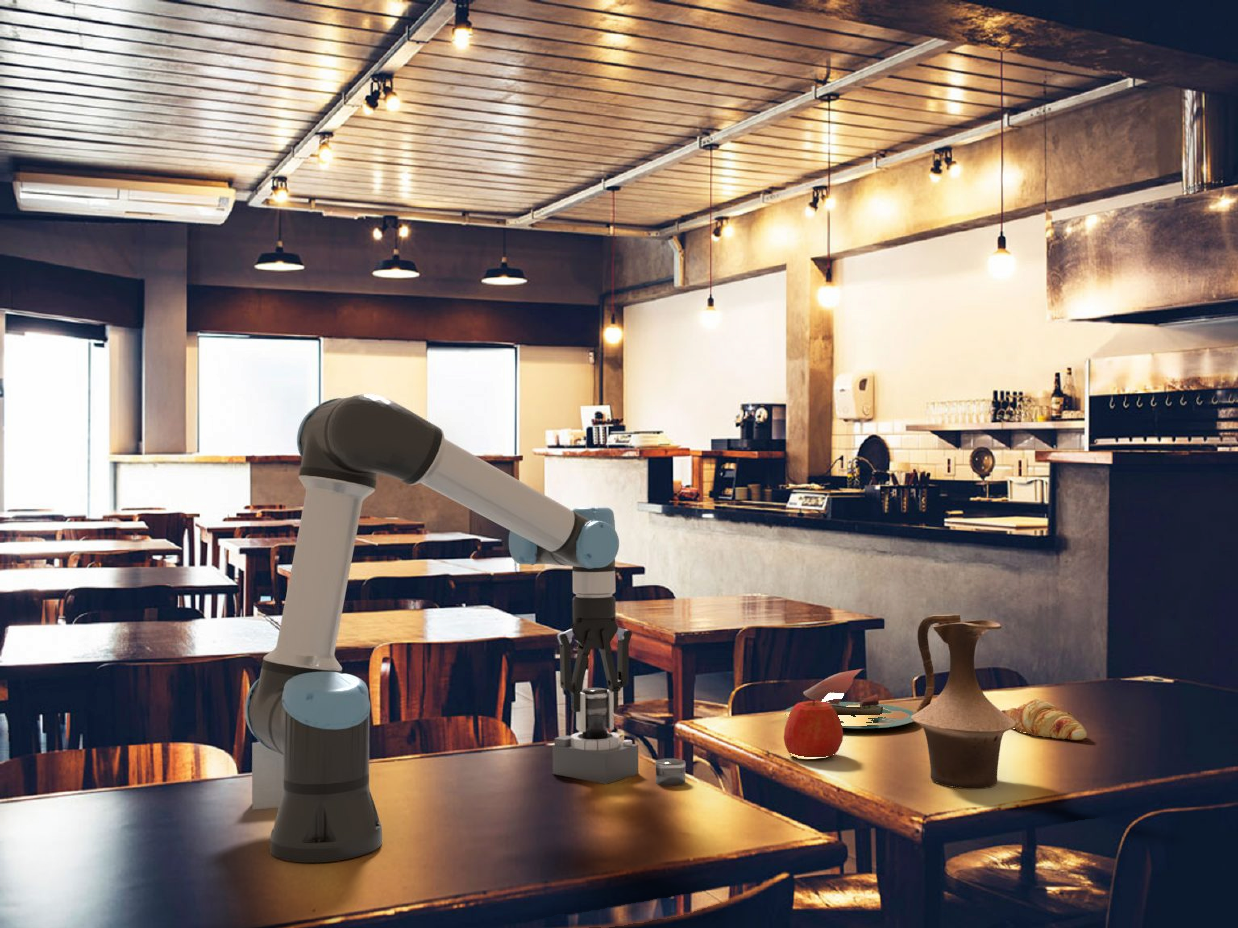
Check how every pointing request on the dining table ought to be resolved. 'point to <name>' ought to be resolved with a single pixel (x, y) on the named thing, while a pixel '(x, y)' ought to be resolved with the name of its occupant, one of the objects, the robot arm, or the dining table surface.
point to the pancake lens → (670, 772)
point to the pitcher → (960, 709)
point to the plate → (836, 689)
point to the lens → (596, 713)
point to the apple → (813, 730)
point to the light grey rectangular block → (266, 777)
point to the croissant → (1046, 721)
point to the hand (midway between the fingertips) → (595, 728)
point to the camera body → (595, 758)
